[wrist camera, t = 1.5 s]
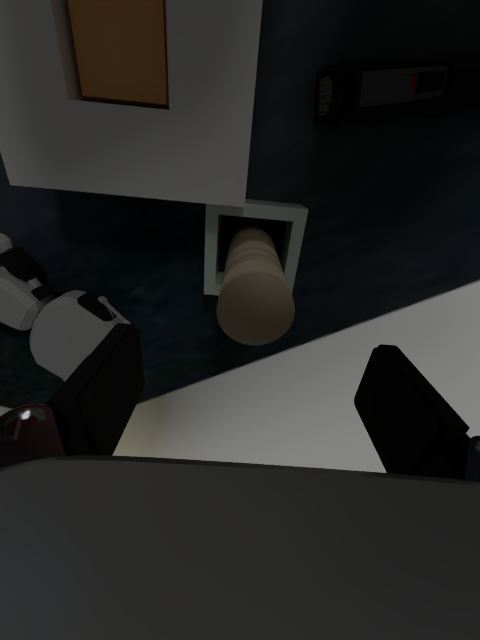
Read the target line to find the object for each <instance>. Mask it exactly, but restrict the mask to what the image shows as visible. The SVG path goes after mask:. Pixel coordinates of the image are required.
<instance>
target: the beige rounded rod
mask: <svg viewBox="0 0 480 640" xmlns="http://www.w3.org/2000/svg"><path fill="white" fill-rule="evenodd" d="M216 312H217V319H218V322H219V324H220V327H221V328H222V330H223V331H224V332H225V333H226V334H227V335H228V336H229V337H230V338H232V339H233V340H235V341H237V342H240V343H242V344H246V345H263V344H268V343H271V342H273V341H275V340H277V339H279V338H280V337H281V336H283V335H284V334H285V333H286V332H287V330H288V329H289V328H290V326H291V324H292V322H293V319H294V315H295V305H294V301H293V298H292V295H291V292H290V289H289V286H288V284H287V281H286V278H285V275H284V272H283V270H282V267H281V264H280V261H279V258H278V255H277V253H276V250H275V247H274V244H273V241H272V238H271V236H270V234H269V232H268V231H267V230H266V229H265V228H264V227H263V226H261V225H259V224H255V223H248V224H244V225H242V226H240V227H239V228H238V229H237V230H236V231H235V232H234V234H233V236H232V238H231V242H230V247H229V252H228V256H227V261H226V266H225V270H224V275H223V280H222V284H221V289H220V294H219V298H218V303H217V309H216Z"/></svg>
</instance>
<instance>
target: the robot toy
mask: <svg viewBox="0 0 480 640" xmlns="http://www.w3.org/2000/svg"><path fill="white" fill-rule="evenodd" d="M0 253H2V254H1V255H0V263H1V264H2V265H3V266H4V267H0V329H1V328H6V327H13V328H16V331H17V333H21V334H25V335H28V334H30V348H31V352H32V354H33V356H34V358H35V360H36V362H37V364H39V365H40V366H42V367H43V368H45V369H46V370H48V371H50V372H51V373H53V374H55V375H56V376H58V377H60V378H61V379H63V380H64V381H66V380H67V379H68V377H69V376H70V375H71V374H72V373H73V372H74V370H75V369H76V368H77V367H78V366H79V365H80V364H81V362H82V361H83V360H84V359H85V358H86V357H87V356H88V355H90V354H91V353H92V351H93V350H94V349H95V348H96V347H97V346H98V344H99V343H100V342H101V341H102V340H103V339H104V338H105V336H106V335H107V334H108V333H109V332H110V331H111V329H112V328H113V327H114V326H115V325H116V324H117V323H125V324H131V323H130V322H129V321H128V320H126V319H125V318H124V317H123V316H122V315H120V314H119V313H118V311H117V310H116V308H115V307H113V306H112V305H111V304H110V303H109V302H107V301H108V300H107V299H106V298H105V297H104V296H99V295H97V294H94V293H92V292H89V291H88V292H83V291H79V290H74V291H70V292H67V293H65V294H63V295H62V296H60V297H58V298H56V299H54V296H53V294H54V292H53V291H52V289H51V288H50V287H49V286H48V284H43V285H42V284H41V283H40V282H39V280H38V279H37V278H36V269H35V263H34V262H33V261H32V259H31V258H30V257H29V256H28V254H27V253H26V252H25V251H24V249H23V248H22V247H21V248H16V249H14V245H13V242H12V240H11V239H10V238H9V237H8V236H7V235H6V234H2V233H0Z"/></svg>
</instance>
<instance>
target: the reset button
mask: <svg viewBox="0 0 480 640" xmlns="http://www.w3.org/2000/svg"><path fill="white" fill-rule="evenodd" d="M68 6H69V13H70V19H71V25H72V32H73V38H74V45H75V51H76V57H77V64H78V70H79V77H80V83H81V89H82V96H85V97H87V98H89V99H91V100H94V101H96V102H99V103H109V104H119V105H128V106H138V107H147V108H157V109H167V110H169V86H168V56H167V26H166V0H68Z"/></svg>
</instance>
